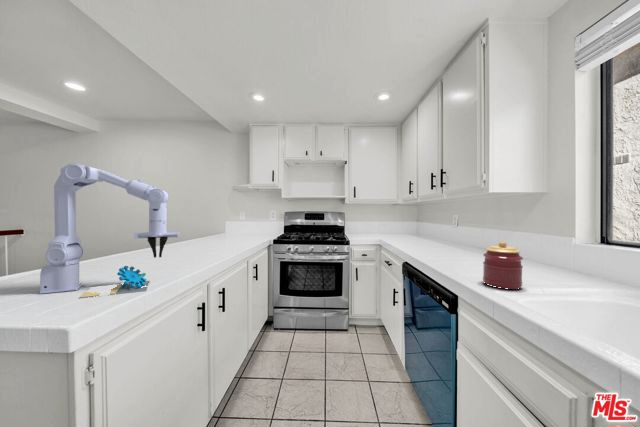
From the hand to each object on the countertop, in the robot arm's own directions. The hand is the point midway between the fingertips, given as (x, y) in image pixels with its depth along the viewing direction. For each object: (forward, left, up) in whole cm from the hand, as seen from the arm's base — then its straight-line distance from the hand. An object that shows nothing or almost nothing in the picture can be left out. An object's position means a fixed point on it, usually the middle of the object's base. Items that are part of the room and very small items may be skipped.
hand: (157, 257), depth 101 cm
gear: (-8, 0, -11) cm, 13 cm away
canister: (+120, -59, -11) cm, 134 cm away
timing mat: (-12, 0, -11) cm, 16 cm away
